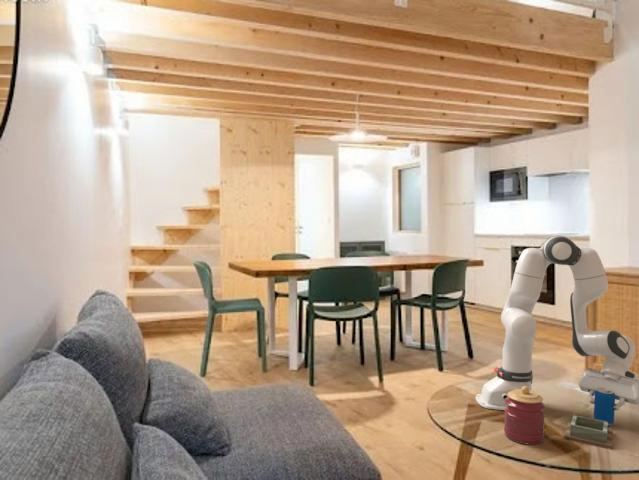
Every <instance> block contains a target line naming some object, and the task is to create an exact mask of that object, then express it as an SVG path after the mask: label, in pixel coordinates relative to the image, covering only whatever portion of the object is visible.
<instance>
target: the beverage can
mask: <svg viewBox="0 0 639 480" xmlns="http://www.w3.org/2000/svg"><path fill="white" fill-rule="evenodd" d="M608 391H610V392H611V393H607V392H608ZM594 398H595V402H594V404H593V406H594V407H593V408H594V409H593V419H597V420H602V421H607V422H608V426H612V425H613V424H615V411H616V410H614V408H613V407H614V403H615V404H616V399H615V394H614V391H613V390H607V389H605V388H597V389H596V391H595V396H594Z"/></svg>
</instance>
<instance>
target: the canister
mask: <svg viewBox="0 0 639 480" xmlns="http://www.w3.org/2000/svg"><path fill="white" fill-rule="evenodd" d="M543 401H544V398H543V396H541V395H540V394H538V392H536V391H533V390H532V391H531V390H529V388H528V387H527V386H523V387H522V388H521V389H514V390H513V391H510V392H509V393H508V397H507V398H506V399H505V403H506V408H505V410H504V425H503V431H504V435H505V436H506V437H507V438H508V439H510V440H511V439H512V440H511V441H513V440H514V441H513V442H515V441H518V442H517V443H519V442H522V443H521V444H523V443H528V444H527V445H539V444H541V443H543V442H544V440H545V436H546V435H545V433H546V432H545V419H546V414H545V412H544V411H545V409H546V407H547V406H546V404H545V403H544V402H543Z"/></svg>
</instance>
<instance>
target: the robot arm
mask: <svg viewBox="0 0 639 480" xmlns="http://www.w3.org/2000/svg"><path fill="white" fill-rule="evenodd" d="M551 264H555V265H558V266H559V265H561V266H569V268H570V270H571V272H572V276H573V281H574V289H573V291H572V293H571V294H570V299H569V303H570V305H569V307H570V316H571V318H570V319H571V326H572V337H571V343H572V348H573V349H574V350H575V352H576V353H577V354H578V355H579V356H581V357H594V356H596V357H604V358H605V360H604V362H603V364H602V366H601V369H600V370H597V369H595V370H594V369H592V368H588V369H585V370H583V372H582V374H581V377H580V380H579V382H578V387H579V389H580V390H581V391H582V392H586V393H589V396H590V400H589V403H590V404H592V405H594V402H595V391H596V389H597V388H605V389H607V390H613V391H614V394H615V401H616V400H617V401H618V402H617V403H616V402H615V403H614V407H613V408H614V410H615V411H617V412H619V411H620V408H621V407H623V406H624V405H625V404H626V403H629V404H633V405H637V406H638V405H639V375H638V374H636V373H634V372H632V371H630V367H631V366H632V365H633V362H634V357H635V351H636V344H635V342H634V340H633V339H632V338H630V337H629V336H628V335H625V334H621V333H620V332H618V331H617V330H614V329H613V330H611V329H610V330H609V329H606V330H604V329H603V330H602V329H601V330H590V329H589V328H588V322H587V321H588V320H587V319H588V318H587V311H586V310H587V307H588V305H589V304H591V303H593V302H594V301H596V300H598V299H601V297H603V296H604V295H605V294H606V293H607V290H608V288H609V281H608V277H607V274H606V270H605V266H604V265H603V262H602V260H601V258H600V255H599V253H598V252H597V250H595V249H593V248H589V247H582V248H580V247H579V246H578V245H576V243H574V241H573V240H572V239H570V238H568V237H567V236H564V235H554V236H551V237H548V238H547V239H546V240H545V241H543V243H542V244H541V245H540V246H539V247H537V248H535V247H529V248H528V247H527V248H525V249H523V250H522V251H521V253H520V255H519V257H518V260H517V262H516V266H515V268H514V269H515V270H514V273H513V277H512V282H511V286H510V290H509V294H508V296H507V298H506V301H505V304H504V307H503V309H502V312H501V314H500V315H501V316H500V320H501V321H500V322H501V324H502V326H503V327H504V329H505V335H504V336H505V337H504V343H503V347H502V356H501V357H502V361H501V362H502V364H501V367H498V366H494V367H493V372H494V373H496V376H495V377H493V378H492V379H490V380H488V381H487V382H485V383H484V384H483V386H482V389H481V393H477V394H476V395H475V400H476V402H477V403H478V404H479V406H481V407H483V408H485V409H489V410H498V411H499V410H500V411H505V408H506V403H505V399H506V398H507V397H508V393H509V392H510V391H513V390H514V389H521V388H522V387H523V386H527V387H528V388H529V390H531V391H533V389H532V384H533V377H534V376H533V369H532V363H533V362H532V361H533V359H532V358H533V349H534V343H535V339H536V333H537V330H538V324H537V321H536V318H535V317H534V316H533V315H532V314H533V313H532V312H533V310H534V308H535V306H536V304H537V302H538V301H539V299H540V296H541V292H542V288H543V284H544V280H545V276H546V271H547V268H548V266H550V265H551ZM607 393H611V392H610V391H608V392H607Z"/></svg>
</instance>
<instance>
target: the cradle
mask: <svg viewBox="0 0 639 480" xmlns="http://www.w3.org/2000/svg"><path fill="white" fill-rule="evenodd" d="M613 436H614V431H613V430H612V429H611V430H610V429H609V425H608V422H607V421H602V420H597V419H594V418H592V417H587V416H583V415H582V416H581V415H577V414H573V416H572V419H571V421H568V423H567V426H566V429H565V433H564V439H565V440H569V441H573V442H577V443H578V442H579V443H583V444H588V445H590V446H595V447H599V446H600V448H604V449H608V448H610V449H609V450H612V448H613V439H614V438H613Z"/></svg>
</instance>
